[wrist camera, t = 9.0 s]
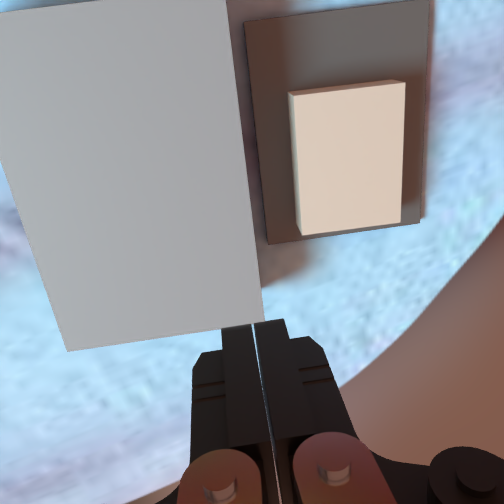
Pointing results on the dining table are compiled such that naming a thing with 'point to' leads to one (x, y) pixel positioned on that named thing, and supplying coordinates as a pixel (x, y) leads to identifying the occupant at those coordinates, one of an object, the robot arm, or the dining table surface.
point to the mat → (327, 75)
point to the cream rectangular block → (347, 155)
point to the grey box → (130, 167)
